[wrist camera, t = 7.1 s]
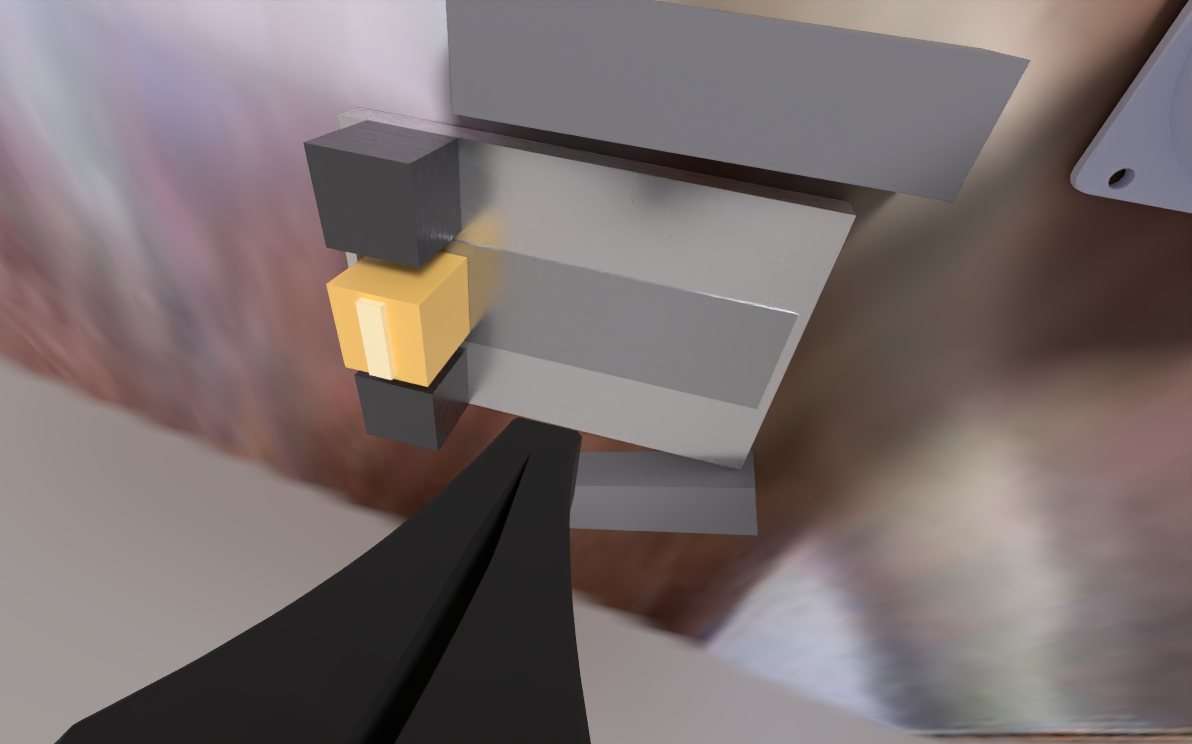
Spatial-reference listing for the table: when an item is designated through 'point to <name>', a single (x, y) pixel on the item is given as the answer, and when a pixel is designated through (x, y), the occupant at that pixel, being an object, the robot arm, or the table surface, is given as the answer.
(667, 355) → the panel
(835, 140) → the duct
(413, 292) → the orange l block
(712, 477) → the duct
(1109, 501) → the table surface
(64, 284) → the table surface
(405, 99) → the table surface
